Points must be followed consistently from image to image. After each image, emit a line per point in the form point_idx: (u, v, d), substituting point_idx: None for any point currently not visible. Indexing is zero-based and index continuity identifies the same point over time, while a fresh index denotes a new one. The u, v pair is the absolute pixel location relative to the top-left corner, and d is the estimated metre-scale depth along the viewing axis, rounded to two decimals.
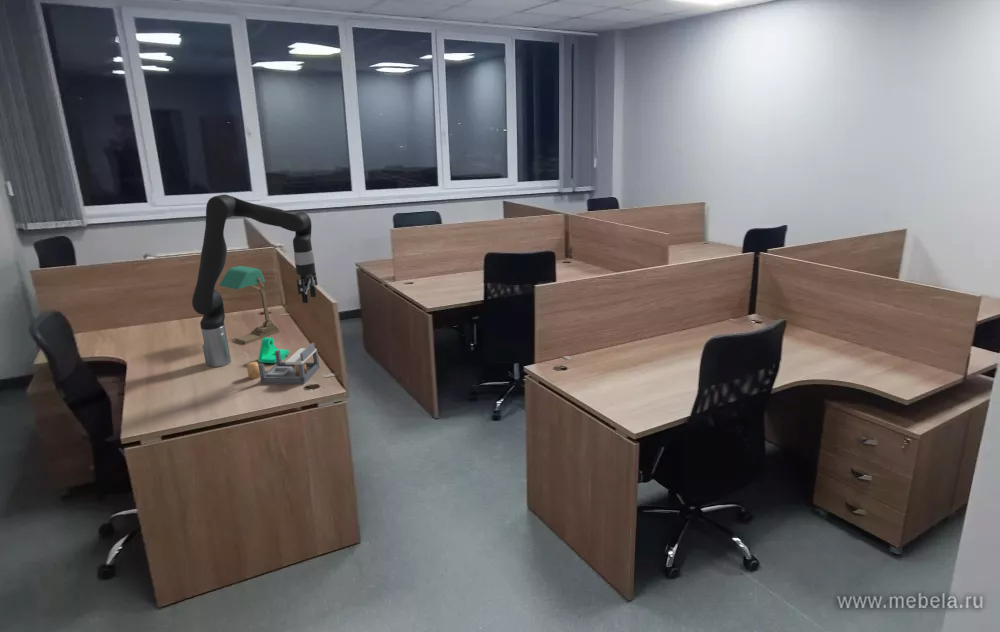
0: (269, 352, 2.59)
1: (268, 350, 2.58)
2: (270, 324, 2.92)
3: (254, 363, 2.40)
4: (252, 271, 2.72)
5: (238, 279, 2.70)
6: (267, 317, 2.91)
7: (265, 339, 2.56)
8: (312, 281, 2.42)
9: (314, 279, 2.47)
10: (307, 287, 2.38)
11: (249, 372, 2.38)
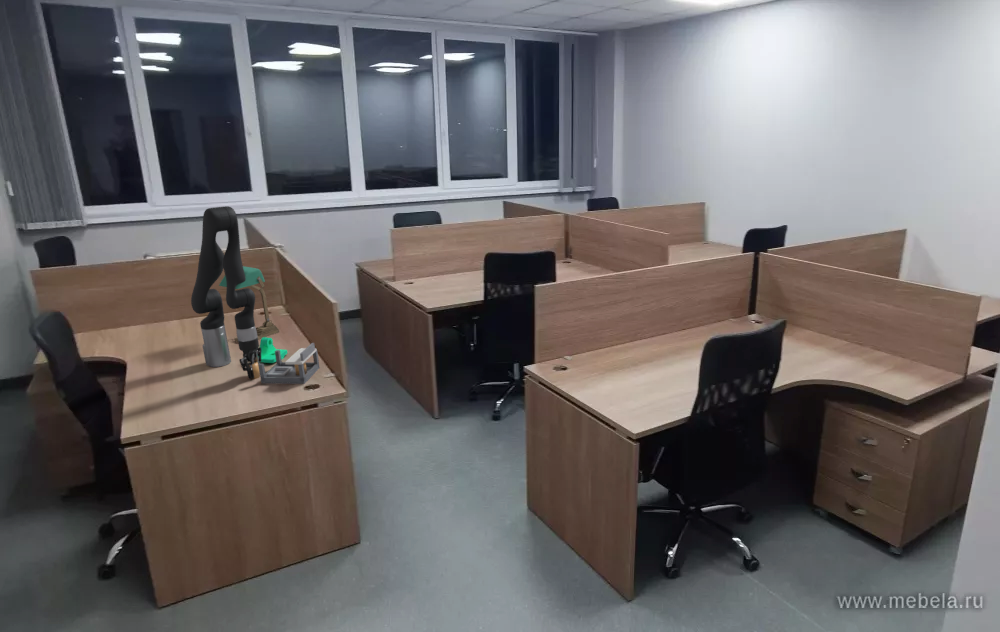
0: (268, 352, 2.59)
1: (267, 350, 2.58)
2: (270, 324, 2.92)
3: (254, 363, 2.40)
4: (252, 271, 2.72)
5: None
6: (267, 317, 2.91)
7: (263, 339, 2.56)
8: (255, 356, 2.39)
9: (258, 355, 2.43)
10: (251, 364, 2.36)
11: None
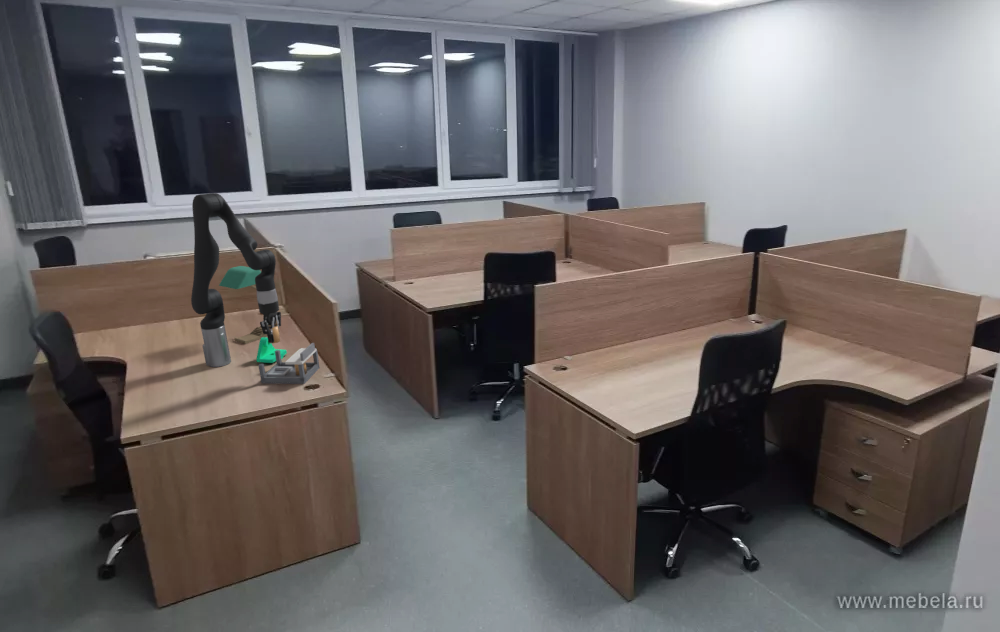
0: (267, 352, 2.59)
1: (266, 350, 2.59)
2: None
3: (274, 327, 2.36)
4: (252, 271, 2.72)
5: (238, 279, 2.70)
6: None
7: (263, 339, 2.56)
8: (275, 320, 2.36)
9: (278, 319, 2.40)
10: (272, 327, 2.32)
11: None
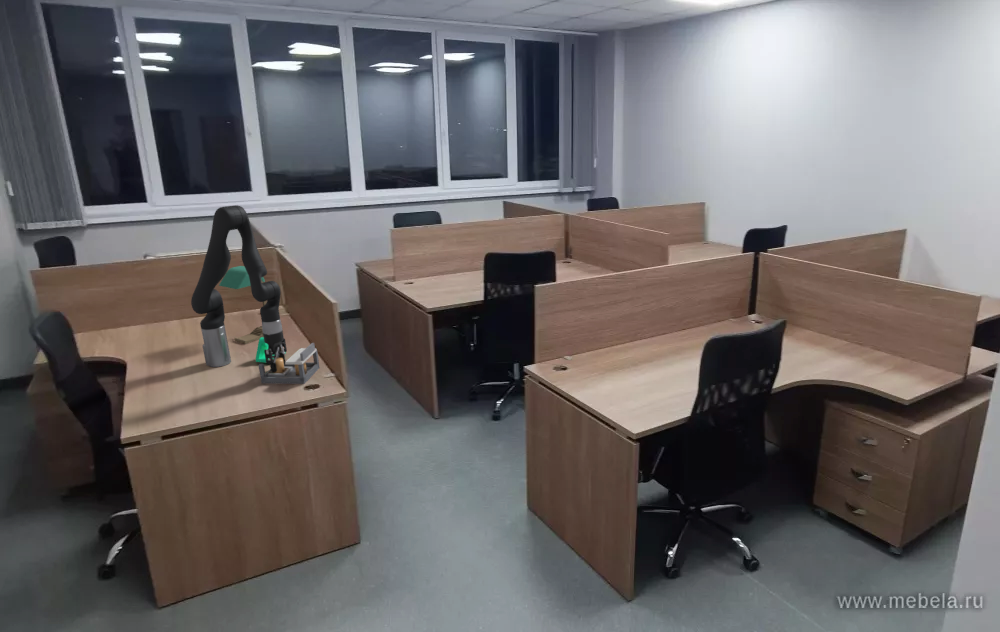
0: None
1: None
2: None
3: (279, 359, 2.40)
4: None
5: (238, 279, 2.70)
6: None
7: (262, 339, 2.56)
8: (281, 348, 2.40)
9: (283, 346, 2.44)
10: (275, 356, 2.35)
11: None
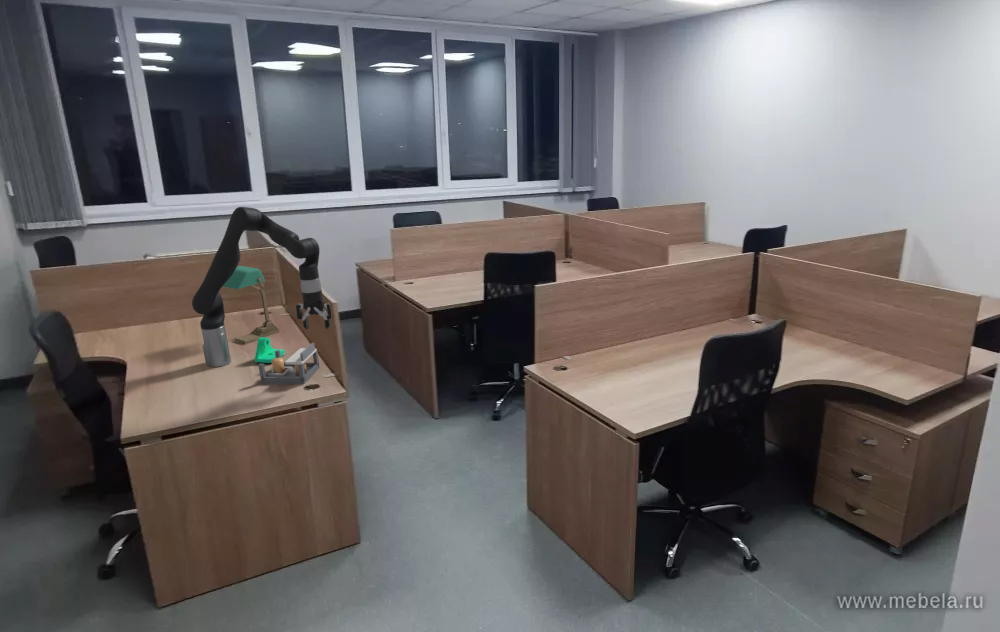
0: (265, 352, 2.59)
1: (265, 350, 2.59)
2: (270, 324, 2.92)
3: (279, 359, 2.40)
4: (252, 271, 2.72)
5: (238, 279, 2.70)
6: (267, 317, 2.91)
7: (261, 339, 2.56)
8: (317, 311, 2.30)
9: (328, 311, 2.30)
10: None
11: (274, 368, 2.39)
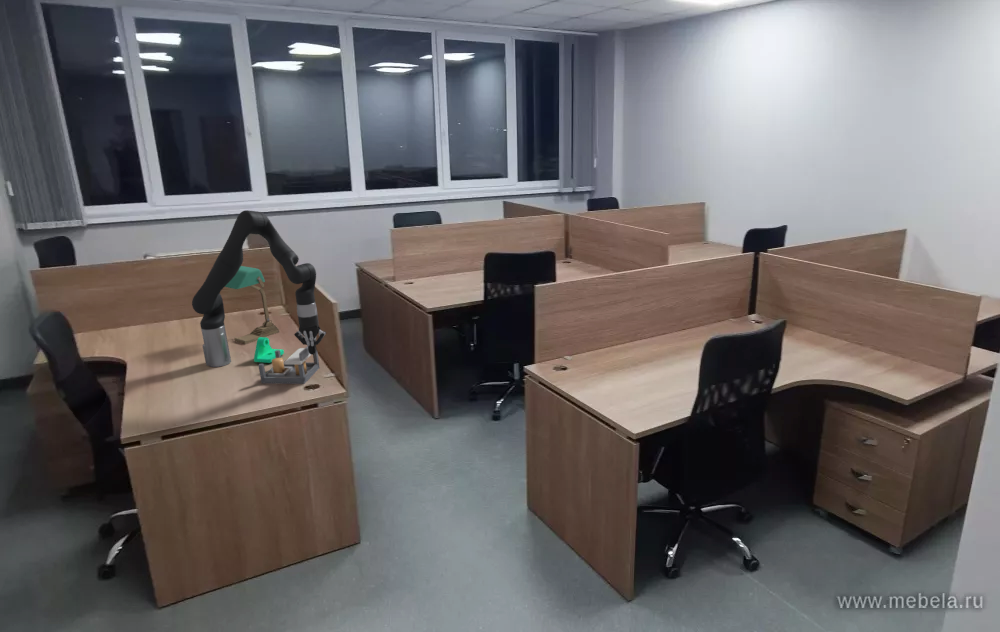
0: (264, 352, 2.59)
1: (264, 350, 2.59)
2: (270, 324, 2.92)
3: (279, 359, 2.40)
4: (252, 271, 2.72)
5: (238, 279, 2.70)
6: (267, 317, 2.91)
7: (260, 339, 2.56)
8: (310, 335, 2.34)
9: (318, 338, 2.35)
10: (305, 340, 2.34)
11: (274, 368, 2.39)
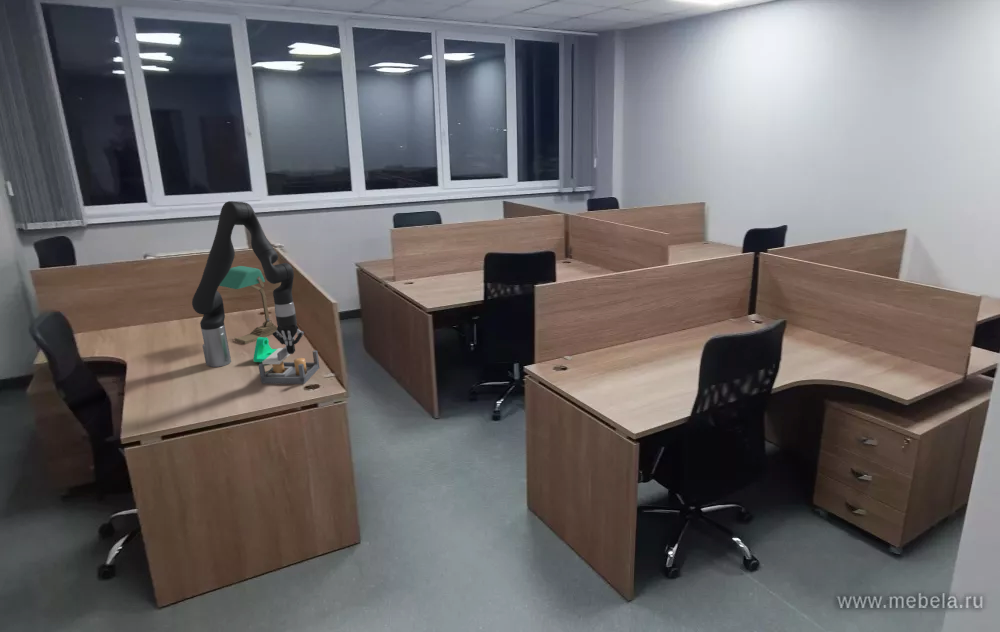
0: (264, 352, 2.59)
1: (263, 350, 2.59)
2: (270, 324, 2.92)
3: None
4: (252, 271, 2.72)
5: (238, 279, 2.70)
6: (267, 317, 2.91)
7: (259, 339, 2.56)
8: (288, 334, 2.34)
9: None
10: (283, 340, 2.35)
11: (274, 368, 2.39)
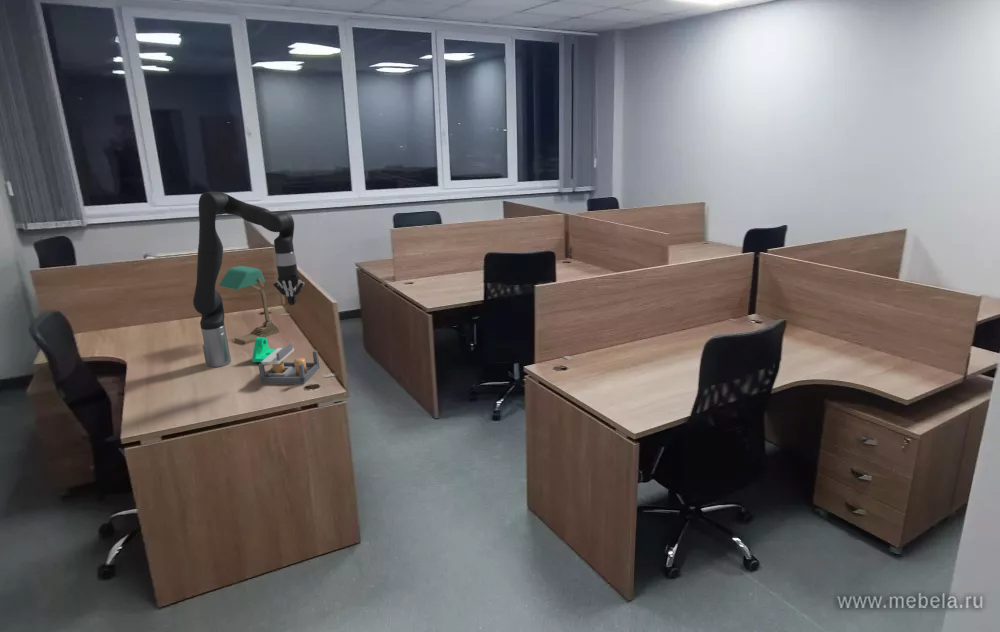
0: (262, 352, 2.59)
1: (262, 350, 2.59)
2: (270, 324, 2.92)
3: None
4: (252, 271, 2.72)
5: (238, 279, 2.70)
6: (267, 317, 2.91)
7: (258, 339, 2.56)
8: (289, 284, 2.34)
9: (297, 288, 2.35)
10: (284, 290, 2.35)
11: (274, 368, 2.39)
